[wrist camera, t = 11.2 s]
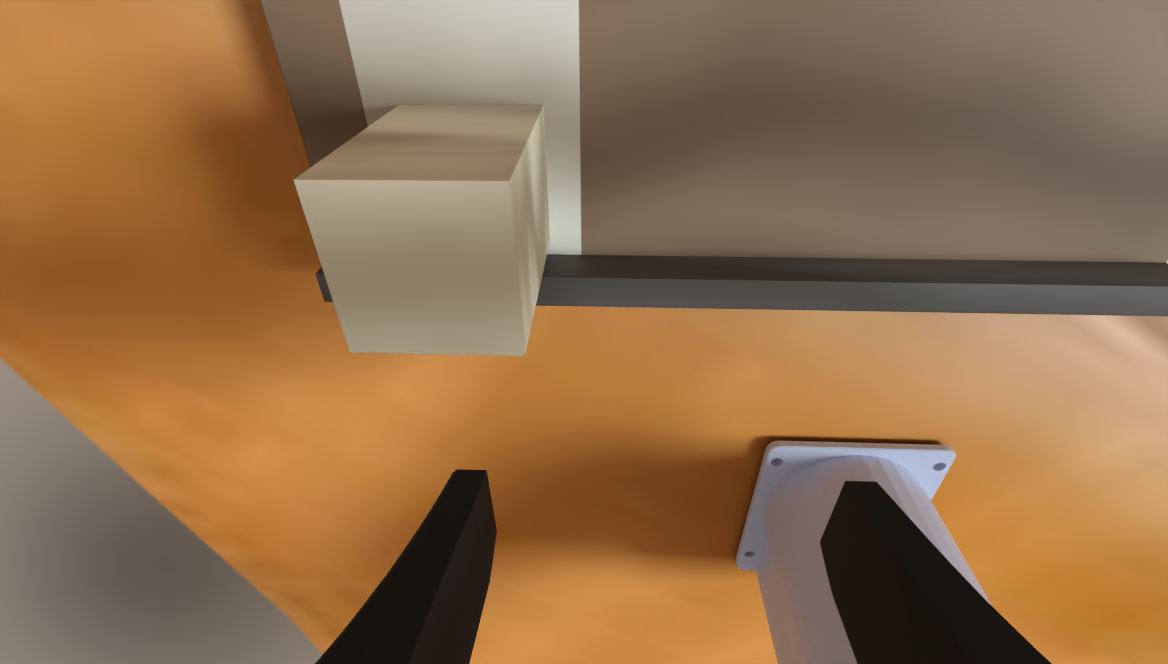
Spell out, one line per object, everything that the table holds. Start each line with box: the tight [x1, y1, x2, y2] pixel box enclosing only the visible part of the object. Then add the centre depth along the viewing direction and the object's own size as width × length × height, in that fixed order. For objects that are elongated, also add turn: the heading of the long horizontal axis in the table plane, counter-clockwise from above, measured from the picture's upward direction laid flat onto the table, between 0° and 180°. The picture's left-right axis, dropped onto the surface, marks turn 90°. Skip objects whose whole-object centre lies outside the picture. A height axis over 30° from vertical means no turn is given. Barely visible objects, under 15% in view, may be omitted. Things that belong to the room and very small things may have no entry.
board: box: [261, 0, 1168, 316], centre depth 15 cm, size 9×26×3 cm, turn 90°
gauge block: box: [294, 105, 550, 356], centre depth 13 cm, size 4×4×6 cm
